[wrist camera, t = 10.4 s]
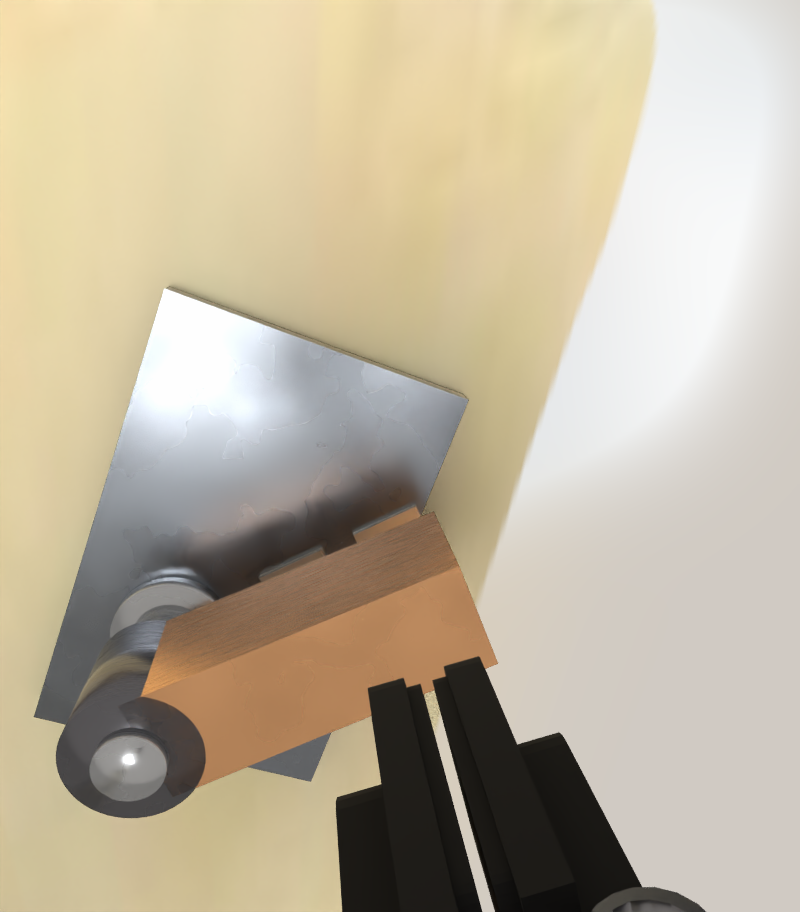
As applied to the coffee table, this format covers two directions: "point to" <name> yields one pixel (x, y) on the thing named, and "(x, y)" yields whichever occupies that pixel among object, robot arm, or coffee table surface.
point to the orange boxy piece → (266, 669)
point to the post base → (243, 478)
